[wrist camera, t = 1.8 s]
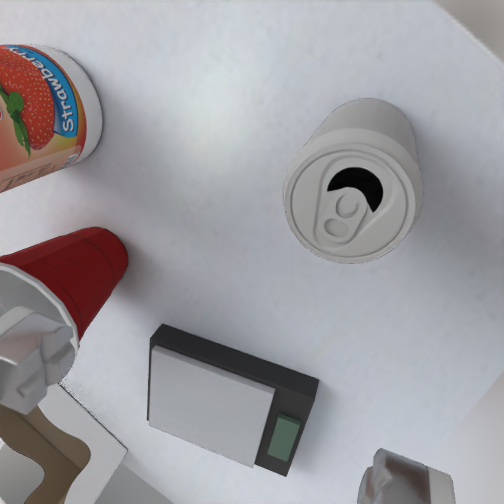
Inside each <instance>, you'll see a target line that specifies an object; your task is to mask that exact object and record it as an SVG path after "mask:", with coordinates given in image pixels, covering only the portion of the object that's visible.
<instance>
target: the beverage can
mask: <svg viewBox="0 0 504 504" xmlns="http://www.w3.org/2000/svg"><path fill="white" fill-rule="evenodd" d="M423 194H424V192H423V181H422V176H421V171H420V166H419V160H418V155H417V150H416V145H415V140H414V134H413V131H412V127H411V125H410V123H409V122H408V120H407V118H406V117H405V115H404V114H403V113H402V112H401V111H400V110H399V109H398V108H396V107H395V106H394V105H392V104H390V103H388V102H385V101H383V100H379V99H373V98H363V99H357V100H353V101H350V102H348V103H345V104H343V105H342V106H340V107H338V108H337V109H336V110H334V111H333V112H332V113H331V114H330V115H329V116H328V117H327V119H326V120H325V121H324V122H323V123H322V125H321V126H320V127H319V128H318V130H317V131H316V132H315V133H314V134H313V136H312V137H311V138H310V139H309V140H308V142H307V143H306V144H305V145H304V147H303V148H302V149H301V150H300V151H299V153H298V154H297V155H296V156H295V158H294V159H293V161H292V163H291V164H290V166H289V168H288V171H287V174H286V177H285V181H284V187H283V200H284V206H285V212H286V217H287V221H288V223H289V226H290V228H291V230H292V232H293V233H294V235H295V236H296V238H297V239H298V240H299V241H300V242H301V243H302V245H304V246H305V247H306V248H307V249H308V250H310V251H311V252H312V253H314V254H316V255H318V256H319V257H322V258H324V259H327V260H329V261H333V262H338V263H347V264H354V263H363V262H368V261H371V260H374V259H377V258H379V257H381V256H383V255H385V254H387V253H388V252H390V251H391V250H392V249H394V248H395V247H396V246H397V245H398V244H399V243H400V242H401V241H402V240H403V238H404V237H405V236H406V235H407V234H408V233H409V232H410V230H411V229H412V228H413V226H414V225H415V223H416V221H417V219H418V217H419V214H420V211H421V208H422V204H423Z"/></svg>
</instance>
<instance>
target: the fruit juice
mask: <svg viewBox="0 0 504 504" xmlns="http://www.w3.org/2000/svg"><path fill="white" fill-rule="evenodd" d="M101 131H102V111H101V106H100V102H99V98H98V96H97V93H96V91H95V88H94V86H93V84H92V83H91V81H90V79H89V78H88V76H87V75H86V73H85V72H84V71H83V70H82V68H81V67H80V66H79V65H78V64H77V63H76V62H75V61H73V60H72V59H71V58H70V57H68V56H67V55H65V54H64V53H62V52H60V51H58V50H55V49H53V48H50V47H46V46H40V45H32V44H31V45H0V193H2V192H4V191H7V190H9V189H12V188H14V187H17V186H20V185H22V184H25V183H27V182H30V181H32V180H35V179H38V178H40V177H43V176H45V175H48V174H50V173H53V172H55V171H58V170H61V169H63V168H66V167H68V166H71V165H73V164H76V163H78V162H80V161H81V160H83V159H84V158H86V157H87V156H88V155H89V154H90V153H91V152H92V151H93V150H94V149H95V147H96V146H97V144H98V141H99V139H100V136H101Z"/></svg>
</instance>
